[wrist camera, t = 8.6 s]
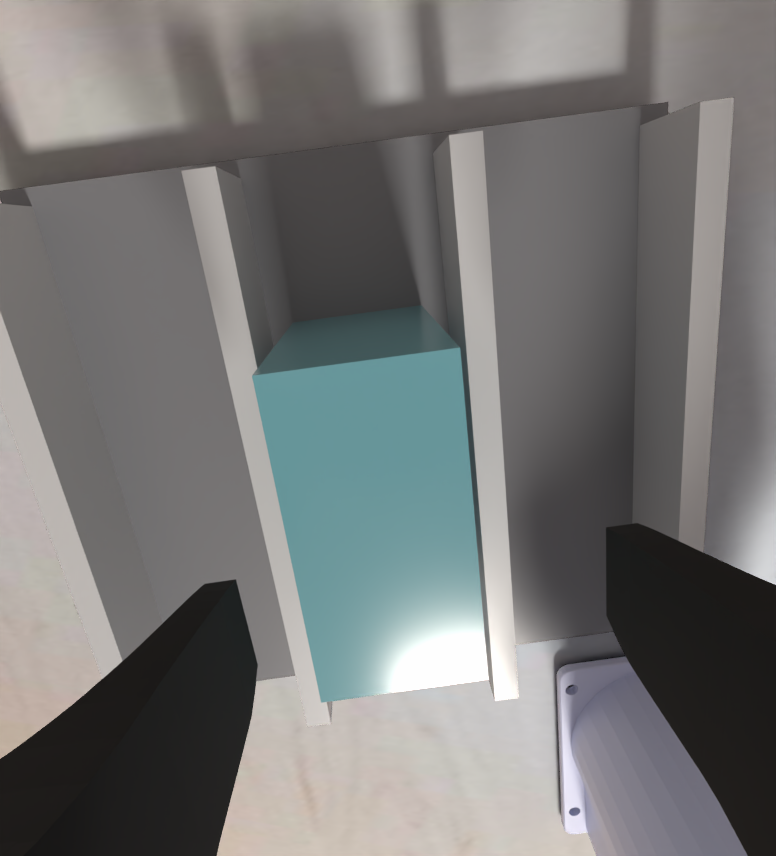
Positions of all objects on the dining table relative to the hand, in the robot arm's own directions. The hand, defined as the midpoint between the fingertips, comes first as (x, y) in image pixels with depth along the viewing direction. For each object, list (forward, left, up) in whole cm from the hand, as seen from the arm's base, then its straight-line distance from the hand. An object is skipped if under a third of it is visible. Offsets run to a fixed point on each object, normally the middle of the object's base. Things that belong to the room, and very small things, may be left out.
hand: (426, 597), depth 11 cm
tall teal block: (+1, +1, -8) cm, 8 cm away
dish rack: (0, +1, -9) cm, 9 cm away
